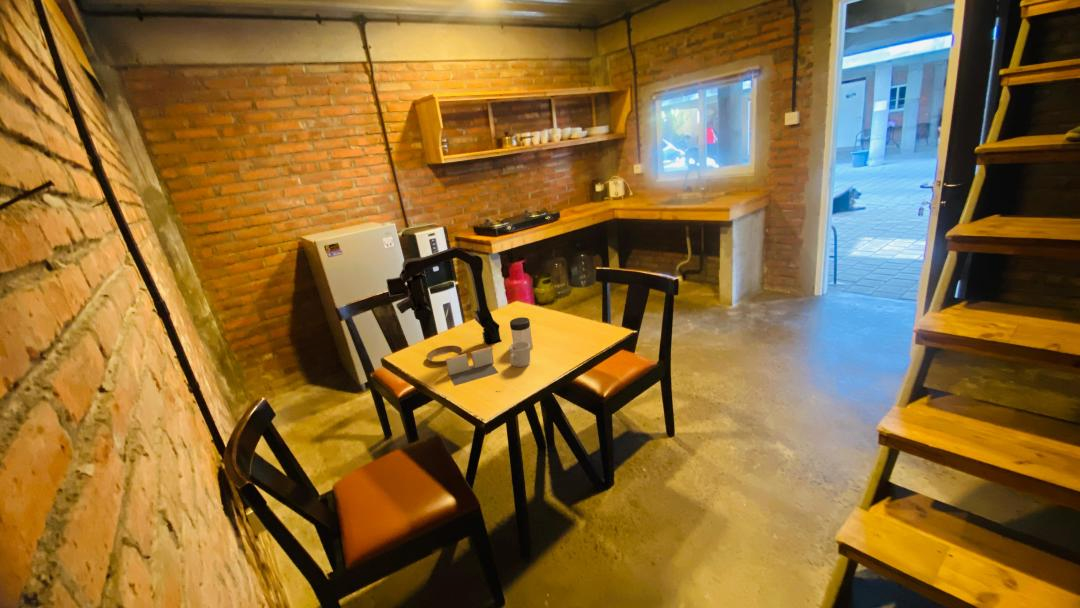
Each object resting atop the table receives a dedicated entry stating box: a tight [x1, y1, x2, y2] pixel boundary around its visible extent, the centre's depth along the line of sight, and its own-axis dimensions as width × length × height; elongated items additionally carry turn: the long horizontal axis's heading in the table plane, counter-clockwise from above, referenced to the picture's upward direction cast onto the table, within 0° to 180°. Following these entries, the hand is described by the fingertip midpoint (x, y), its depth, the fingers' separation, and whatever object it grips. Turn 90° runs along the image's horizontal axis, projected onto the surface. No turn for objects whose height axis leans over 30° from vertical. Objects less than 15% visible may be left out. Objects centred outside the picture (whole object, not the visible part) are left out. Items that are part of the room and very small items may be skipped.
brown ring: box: [425, 345, 463, 365], centre depth 188 cm, size 15×15×3 cm
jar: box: [509, 316, 534, 350], centre depth 188 cm, size 9×8×12 cm
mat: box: [448, 363, 499, 387], centre depth 173 cm, size 17×12×1 cm
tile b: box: [445, 353, 470, 376], centre depth 174 cm, size 8×2×6 cm, turn 113°
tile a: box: [470, 346, 495, 368], centre depth 177 cm, size 8×2×6 cm, turn 113°
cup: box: [508, 341, 531, 368], centre depth 173 cm, size 11×8×8 cm
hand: (424, 326), depth 185 cm, fingers open, 9 cm apart
